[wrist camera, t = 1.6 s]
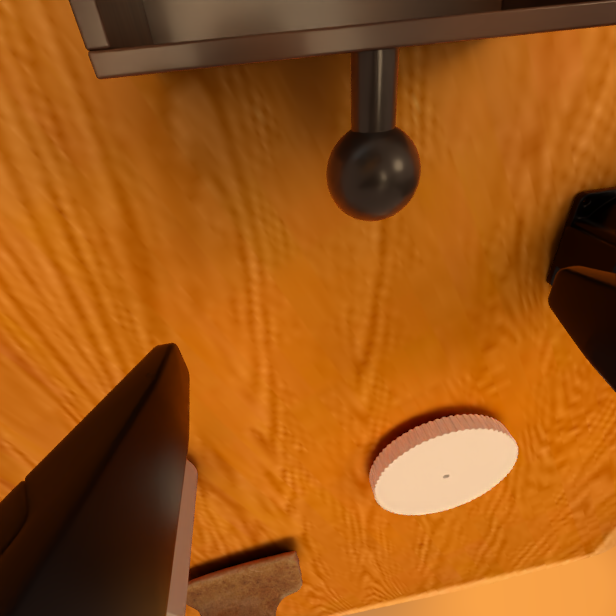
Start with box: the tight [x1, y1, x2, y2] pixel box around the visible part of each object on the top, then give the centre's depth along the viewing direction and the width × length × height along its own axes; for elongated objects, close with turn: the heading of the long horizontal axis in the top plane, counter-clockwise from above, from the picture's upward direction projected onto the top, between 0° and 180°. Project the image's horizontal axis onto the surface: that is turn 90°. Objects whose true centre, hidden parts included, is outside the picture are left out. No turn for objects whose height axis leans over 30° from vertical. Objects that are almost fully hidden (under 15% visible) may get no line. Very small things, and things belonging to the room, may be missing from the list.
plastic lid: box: [369, 414, 518, 515], centre depth 35 cm, size 14×14×2 cm
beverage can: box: [166, 460, 198, 616], centre depth 25 cm, size 6×6×12 cm
